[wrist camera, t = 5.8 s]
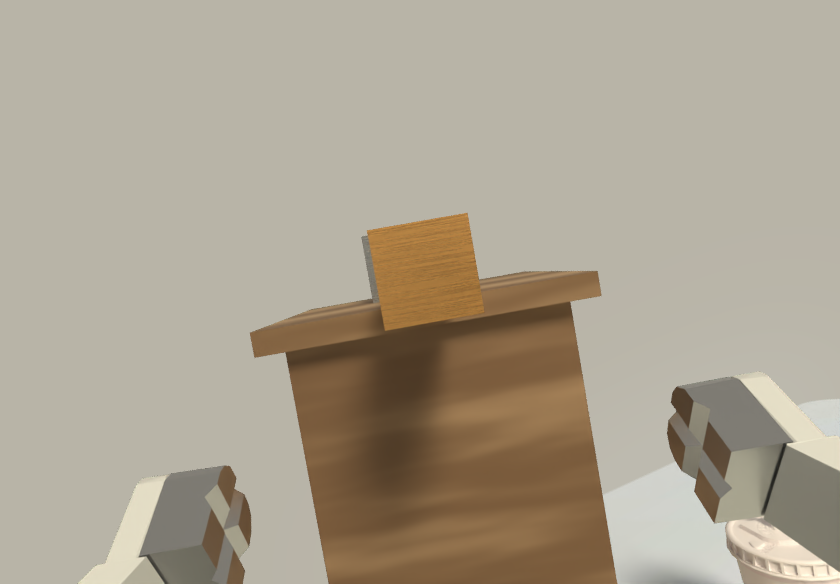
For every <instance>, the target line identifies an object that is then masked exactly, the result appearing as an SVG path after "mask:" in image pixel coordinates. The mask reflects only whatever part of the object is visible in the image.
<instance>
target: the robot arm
mask: <svg viewBox="0 0 840 584" xmlns="http://www.w3.org/2000/svg"><path fill="white" fill-rule="evenodd" d="M671 403H672V405H673V406H674V408H675V409H676V413H675V414H674V415H673V416H672V417H671V418H670V419H669V421H668V431H667V435H668V440H669V445H670V449H671V452H672V454H673V456H674V459H675V461H676V462H677V464H678V466H679V467H680V469H681V471H683V472H684V473H686V474H688V475H689V476H691V477H693V478H695V479H696V485H695V491H694V492H695V493H696V495H697V497H698V498H699V500H700V501H701V503H702V504H703V506H704V508H705V509H706V511H707V512H708V514H709V516H710V517H711V519H712V520H713V522H714V524H715V523H722V522H728V521H735V520H742V519H749V518H755V517H762V516H764V518H763V519H764V520H766V521H767V522H768V523H770V524H771V525H773V526H774V527H776V528H777V529H778V530H780V531H781V532H783V533H784V534H786V535H787V536H788V537H790V538H791V539H793V540H794V541H795V542H797V543H798V544H800V545H801V546H803V547H804V548H805V549H807V550H808V551H810V552H811V553H813V554H814V555H815V556H817V557H818V558H820V559H821V560H822V561H824V562H825V563H827V564H828V565H830V566H831V567H832V568H834V569H835V570H837V571H838V572H840V437H837V436H829V437H826V436H825V435H824V434H823V432H822V431H821V430H820V429H819V428H818V427H817V426H816V425H815V424H814V423H813V422H812V421H811V420H810V419H809V418H808V417H807V416H806V415H805V414H804V413H803V412H802V411H801V410H800V409H799V408H798V407H797V406H796V405H795V404H794V403H793V401H792V400H791V399H790V398H789V397H788V396H787V395H786V394H785V393H784V392H783V391H782V390H781V389H780V388H779V387H778V386H777V385H776V384H775V383H774V382H773V381H772V380H771V379H770V378H769V377H768V376H767V375H766V374H764V373H762V372H754V373H748V374H743V375H737V376H732V377H725V378H720V379H714V380H709V381H704V382H699V383H693V384H687V385H682V386H677V387H676V388H675V390H674V391H673V393H672V400H671ZM235 483H236V476H235V475H234V473H233V471H232V469H231V467H230V466H219V467H213V468H205V469H198V470H192V471H185V472H178V473H171V474H168V475H162V476H154V477H148V478H143V479H142V480H141V481H140V482H139V483H138V484H137V485H136V487H135V489H134V492H133V494H132V497H131V499H130V502H129V504H128V507H127V509H126V512H125V514H124V517H123V519H122V521H121V524H120V526H119V529H118V531H117V534H116V537H115V539H114V541H113V544H112V546H111V549H110V551H109V554H108V556H107V559H106V561H105V563H104V564H100V565H96V566H95V567H94V568H93V569H92V570H91V571H90V572H89V573H88V574H86V576H85V577H83V578H82V580H80V581H79V582H78V583H77V584H243V579H244V573H245V570H244V568H243V566H242V564H241V562H240V560H239V559H240V557H241V556H242V555H243V554H244V552H245V551H246V550H247V549H248V547H249V544H250V537H251V514H250V509H249V505H248V502H247V500H246V498H245V495H244V494H243V493H241V492H239V491H237V490H235V489H234V487H235Z"/></svg>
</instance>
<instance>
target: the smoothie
mask: <svg viewBox="0 0 840 584" xmlns="http://www.w3.org/2000/svg"><path fill="white" fill-rule="evenodd" d="M763 518H764V516H762V517H755V518H749V519H742V520H735V521H728V522H727V524H726V527H725V530H726V537H727V548H728V549H729V551H730V553H731V554H732V556H734V557H735V558H736V559H737V562H738V566H739V569H740V573H741V576H742V580H743V582H744V584H840V572H838V571H837V570H835V569H834V568H832V567H831V566H830V565H828V564H827V563H825V562H824V561H822V560H821V559H820V558H818V557H817V556H815V555H814V554H813V553H811V552H810V551H808V550H807V549H805V548H804V547H803V546H801V545H800V544H798V543H797V542H795V541H794V540H793V539H791V538H790V537H788V536H787V535H786V534H784V533H783V532H781V531H780V530H778V529H777V528H776V527H774V526H773V525H771V524H770V523H768V522H767V521H766V520H764V519H763Z"/></svg>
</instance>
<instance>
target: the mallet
mask: <svg viewBox="0 0 840 584" xmlns="http://www.w3.org/2000/svg"><path fill="white" fill-rule="evenodd" d="M367 234H368V236H363V237H362V243H363V248H364V254H365V259H366V265H367V271H368V276H369V281H370V287H371V293H372V298H373V303H377V302H380V306H381V312H382V317H383V323H384V328H385V331H387V330H392V329H398V328H403V327H409V326H415V325H420V324H426V323H431V322H437V321H443V320H448V319H454V318H460V317H465V316H471V315H476V314H482V313H485V312H484V306H483V301H482V295H481V289H480V283H479V278H478V272H477V266H476V260H475V254H474V248H473V243H472V237H471V231H470V226H469V219H468V214H467V213H464V214H459V215H453V216H447V217H441V218H435V219H430V220H424V221H419V222H413V223H408V224H401V225H396V226H390V227H384V228H379V229H373V230H367Z"/></svg>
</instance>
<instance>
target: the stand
mask: <svg viewBox="0 0 840 584" xmlns="http://www.w3.org/2000/svg"><path fill="white" fill-rule="evenodd" d="M479 283H480V289H481V295H482V301H483V306H484V312H485V313H482V314H476V315H471V316H465V317H460V318H454V319H448V320H443V321H437V322H431V323H426V324H420V325H415V326H409V327H403V328H398V329H392V330H387V331H385V328H384V323H383V317H382V312H381V306H380V302H377V303H373V299H368V300H362V301H356V302H351V303H345V304H340V305H334V306H328V307H322V308H317V309H311V310H309V311H306V312H303V313H301V314H298V315H295V316H293V317H290V318H288V319H285V320H282V321H280V322H277V323H274V324H272V325H269V326H267V327H264V328H261V329H259V330H256V331H254V332H251V333H250V336H251V341H252V347H253V352H254V357H261V356H267V355H272V354H278V353H284V352H286V357H287V363H288V368H289V373H290V379H291V384H292V390H293V394H294V400H295V405H296V411H297V416H298V422H299V427H300V432H301V438H302V443H303V448H304V454H305V459H306V464H307V470H308V475H309V481H310V486H311V491H312V497H313V502H314V507H315V513H316V518H317V523H318V528H319V534H320V539H321V545H322V550H323V555H324V561H325V565H326V571H327V577H328V582H329V584H617V580H616V574H615V568H614V562H613V556H612V550H611V544H610V538H609V532H608V526H607V520H606V514H605V508H604V502H603V496H602V490H601V484H600V478H599V472H598V466H597V460H596V454H595V448H594V442H593V436H592V430H591V424H590V418H589V412H588V405H587V399H586V393H585V387H584V382H583V375H582V370H581V363H580V358H579V351H578V346H577V340H576V333H575V327H574V321H573V316H572V310H571V303H570V301H575V300H581V299H587V298H592V297H597V296H601V290H600V284H599V278H598V272H597V271H549V272H547V271H543V272H542V271H536V272H520V273H514V274H508V275H503V276H497V277H492V278H486V279H480V280H479Z"/></svg>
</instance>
